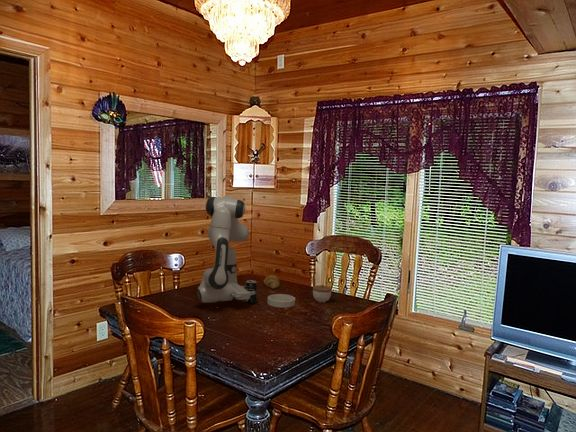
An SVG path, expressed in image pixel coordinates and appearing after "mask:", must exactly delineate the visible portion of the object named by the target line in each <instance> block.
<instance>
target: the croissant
mask: <svg viewBox="0 0 576 432" xmlns="http://www.w3.org/2000/svg"><path fill="white" fill-rule="evenodd" d="M263 283H264V285H265V287H268V288H270V289H272V290H274V289H277V288H279V287H280V279H279V277H278V276H276V275H274V274H270V275H268V276H266V277H265V278H264V279H263Z"/></svg>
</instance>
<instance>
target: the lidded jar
mask: <svg viewBox="0 0 576 432" xmlns="http://www.w3.org/2000/svg"><path fill="white" fill-rule="evenodd" d="M312 296H313V298H314V300H315V301H316V302H317V301H318V302H317V303H322V302H323V303H327V302H328V301H329V300H330V298H331V296H332V287H330V286H327V285H324V284H321V285H314V286H312ZM326 301H327V302H326Z"/></svg>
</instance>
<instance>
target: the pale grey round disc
mask: <svg viewBox="0 0 576 432" xmlns="http://www.w3.org/2000/svg"><path fill="white" fill-rule="evenodd" d="M266 301H267V303H266V304H268V305H269V306H271V307H274V308H291V307H294V306H295V305H296V297H295V296H293V295H291V294H286V293H285V294H283V293H276V294H275V293H274V294H270V295H268V296H267V300H266Z"/></svg>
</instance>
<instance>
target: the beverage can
mask: <svg viewBox="0 0 576 432" xmlns="http://www.w3.org/2000/svg"><path fill="white" fill-rule="evenodd" d="M244 286H245V289H246V290H247V291H249V292H250V291H255V294H254V295H251V296H250V299H245V300H244V303H246V304H248V305H253V304H255V303H257V302H258V301H257V300H258V283H257V280H253V279H248V280H246V282H244Z"/></svg>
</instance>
